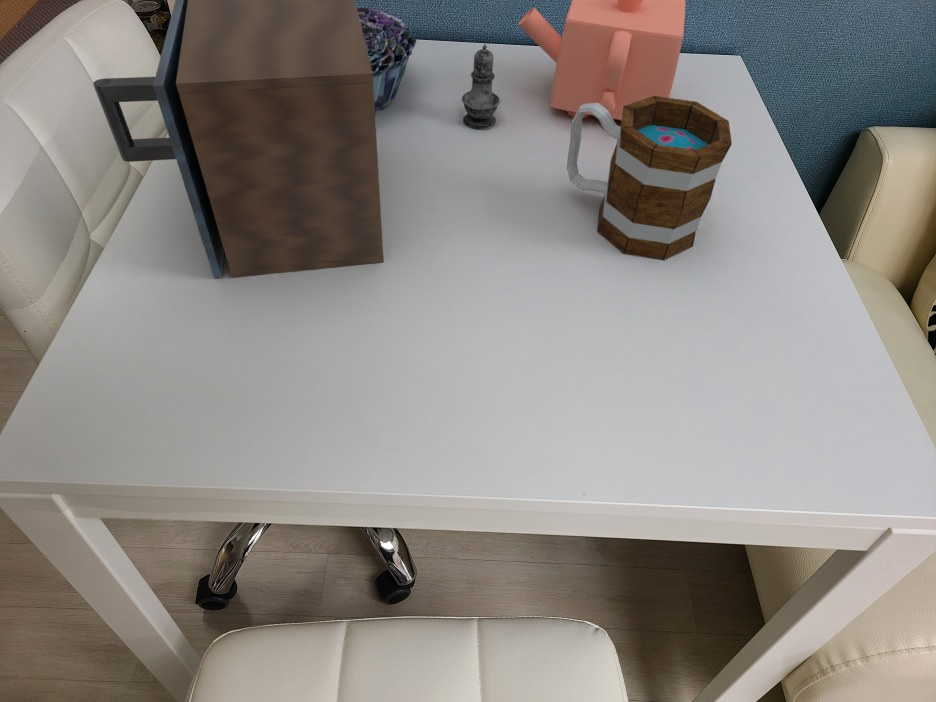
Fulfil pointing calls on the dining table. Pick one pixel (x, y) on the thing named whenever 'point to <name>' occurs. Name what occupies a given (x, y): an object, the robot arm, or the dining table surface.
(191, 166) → the cupboard door
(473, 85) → the salt shaker
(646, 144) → the mug
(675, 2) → the teapot
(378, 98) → the decorative bowl
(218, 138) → the cupboard
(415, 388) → the dining table surface
